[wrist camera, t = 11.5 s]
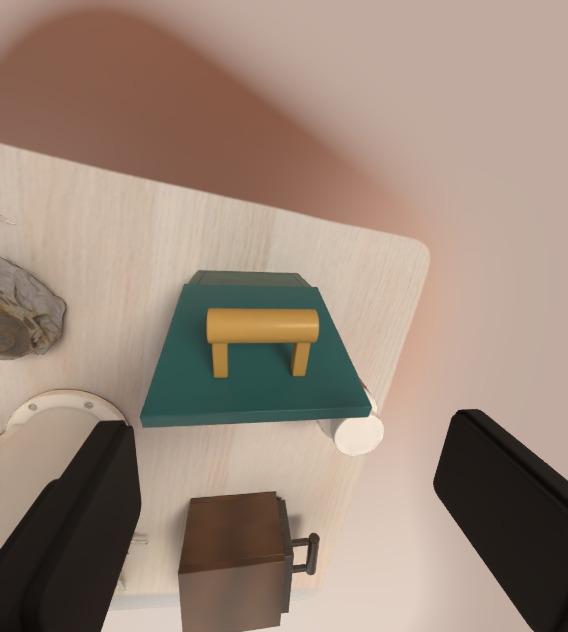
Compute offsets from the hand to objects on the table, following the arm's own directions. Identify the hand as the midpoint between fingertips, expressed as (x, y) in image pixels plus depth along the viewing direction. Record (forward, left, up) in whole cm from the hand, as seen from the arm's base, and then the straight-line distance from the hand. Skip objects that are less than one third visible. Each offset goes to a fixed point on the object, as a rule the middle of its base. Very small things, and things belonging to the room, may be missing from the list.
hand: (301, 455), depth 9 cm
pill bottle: (+9, -12, -25) cm, 29 cm away
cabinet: (-2, -36, -25) cm, 44 cm away
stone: (-24, -2, -25) cm, 35 cm away
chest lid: (-1, -1, -11) cm, 11 cm away
